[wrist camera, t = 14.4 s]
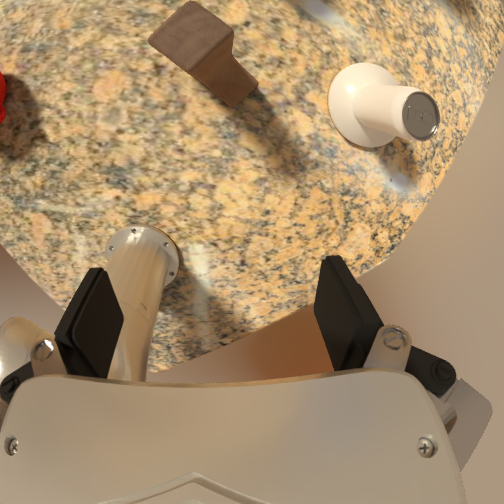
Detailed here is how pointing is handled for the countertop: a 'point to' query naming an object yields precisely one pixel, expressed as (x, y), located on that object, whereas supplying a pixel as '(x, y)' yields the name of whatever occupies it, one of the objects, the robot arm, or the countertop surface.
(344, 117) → the white dome
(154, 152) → the countertop surface
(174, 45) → the wooden block
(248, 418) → the robot arm
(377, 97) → the can
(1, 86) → the ceramic cup
